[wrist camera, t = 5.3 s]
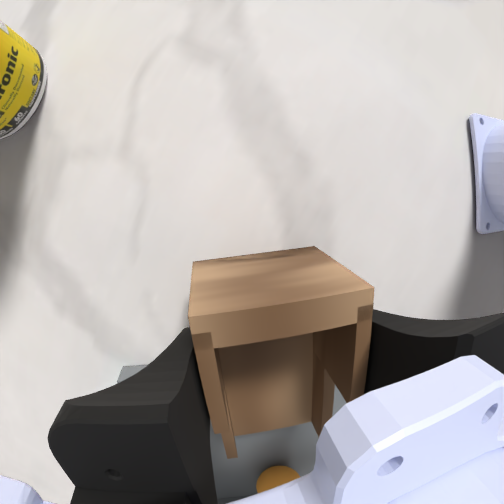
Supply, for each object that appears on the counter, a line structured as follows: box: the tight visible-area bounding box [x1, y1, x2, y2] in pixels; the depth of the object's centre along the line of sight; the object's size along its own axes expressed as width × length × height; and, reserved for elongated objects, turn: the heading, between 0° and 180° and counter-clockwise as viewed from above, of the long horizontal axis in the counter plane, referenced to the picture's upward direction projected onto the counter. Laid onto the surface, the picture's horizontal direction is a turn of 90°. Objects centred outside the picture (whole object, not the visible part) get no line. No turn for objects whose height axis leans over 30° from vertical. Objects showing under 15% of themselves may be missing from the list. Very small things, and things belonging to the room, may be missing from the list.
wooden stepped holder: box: [188, 246, 374, 459], centre depth 11 cm, size 5×9×5 cm, turn 6°
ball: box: [256, 466, 300, 493], centre depth 16 cm, size 3×3×3 cm
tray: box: [117, 365, 346, 504], centre depth 16 cm, size 18×14×4 cm
